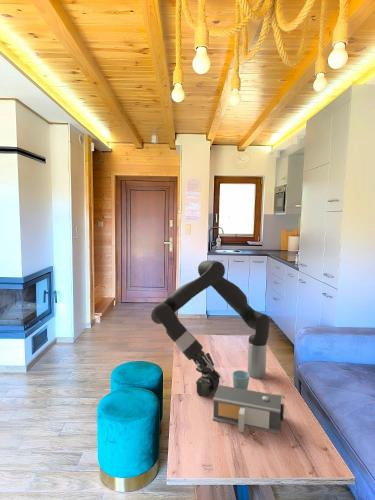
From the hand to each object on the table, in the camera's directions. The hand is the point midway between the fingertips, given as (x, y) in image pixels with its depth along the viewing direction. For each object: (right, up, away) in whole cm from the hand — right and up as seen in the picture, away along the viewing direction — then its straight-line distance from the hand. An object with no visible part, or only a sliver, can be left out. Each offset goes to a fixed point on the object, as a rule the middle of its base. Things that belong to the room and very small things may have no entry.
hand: (218, 378), depth 123 cm
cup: (+12, -17, +23) cm, 31 cm away
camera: (-2, -17, +28) cm, 32 cm away
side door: (+13, -18, -2) cm, 23 cm away
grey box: (+12, -19, +7) cm, 23 cm away
